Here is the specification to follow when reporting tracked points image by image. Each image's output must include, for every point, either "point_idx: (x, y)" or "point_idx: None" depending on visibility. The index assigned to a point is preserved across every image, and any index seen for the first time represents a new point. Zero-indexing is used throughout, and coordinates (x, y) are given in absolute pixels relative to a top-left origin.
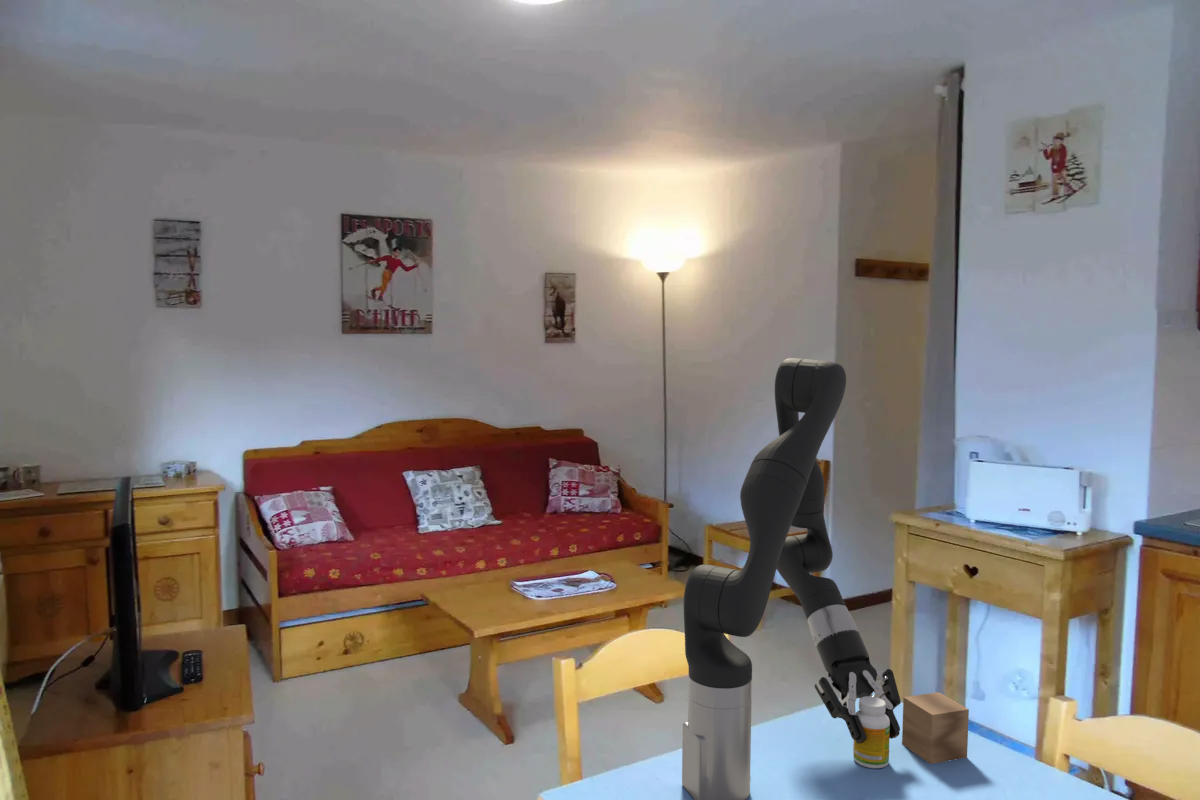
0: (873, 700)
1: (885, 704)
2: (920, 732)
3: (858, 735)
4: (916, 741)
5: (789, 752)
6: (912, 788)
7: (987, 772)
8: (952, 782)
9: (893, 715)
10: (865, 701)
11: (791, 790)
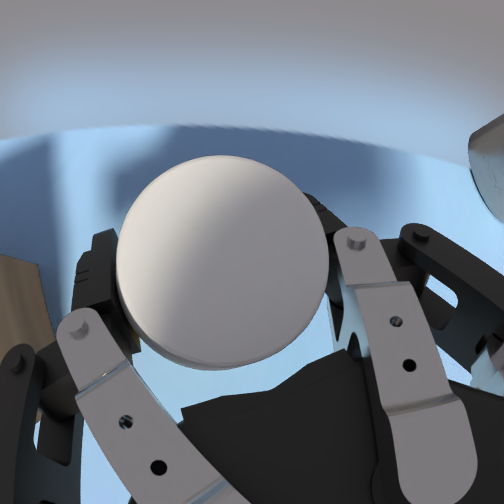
0: (210, 272)
1: (129, 211)
2: (8, 312)
3: None
4: (34, 331)
5: None
6: (145, 133)
7: None
8: (35, 167)
9: (78, 302)
10: (287, 250)
11: (418, 154)
